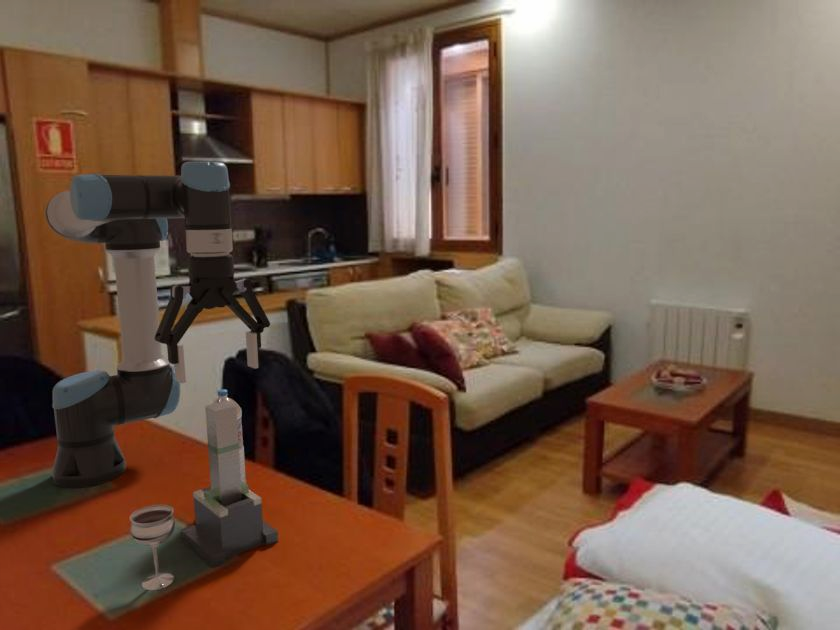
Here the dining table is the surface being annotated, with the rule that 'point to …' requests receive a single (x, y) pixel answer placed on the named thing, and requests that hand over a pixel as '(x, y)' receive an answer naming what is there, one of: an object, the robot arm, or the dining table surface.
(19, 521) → the dining table surface
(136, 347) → the robot arm
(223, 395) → the water bottle
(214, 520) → the sleeve
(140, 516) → the wineglass
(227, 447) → the column
